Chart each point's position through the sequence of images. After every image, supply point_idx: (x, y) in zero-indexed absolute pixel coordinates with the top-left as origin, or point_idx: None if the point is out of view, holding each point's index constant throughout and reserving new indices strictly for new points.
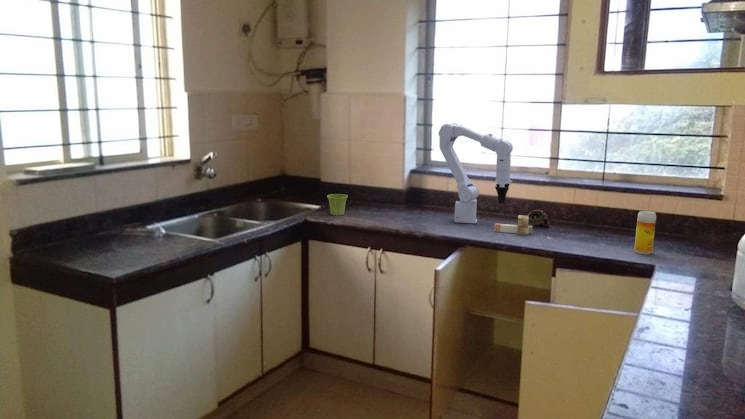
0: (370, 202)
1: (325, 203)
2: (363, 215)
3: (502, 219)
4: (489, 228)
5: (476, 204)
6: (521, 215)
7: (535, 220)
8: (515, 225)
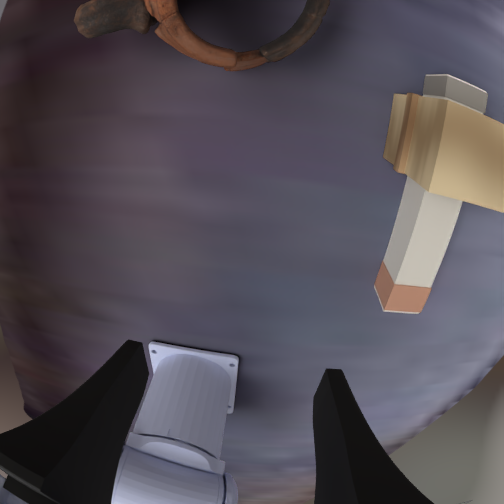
0: None
1: None
2: None
3: (74, 218)
4: (338, 308)
5: (177, 427)
6: (445, 166)
7: (324, 9)
8: (443, 196)
